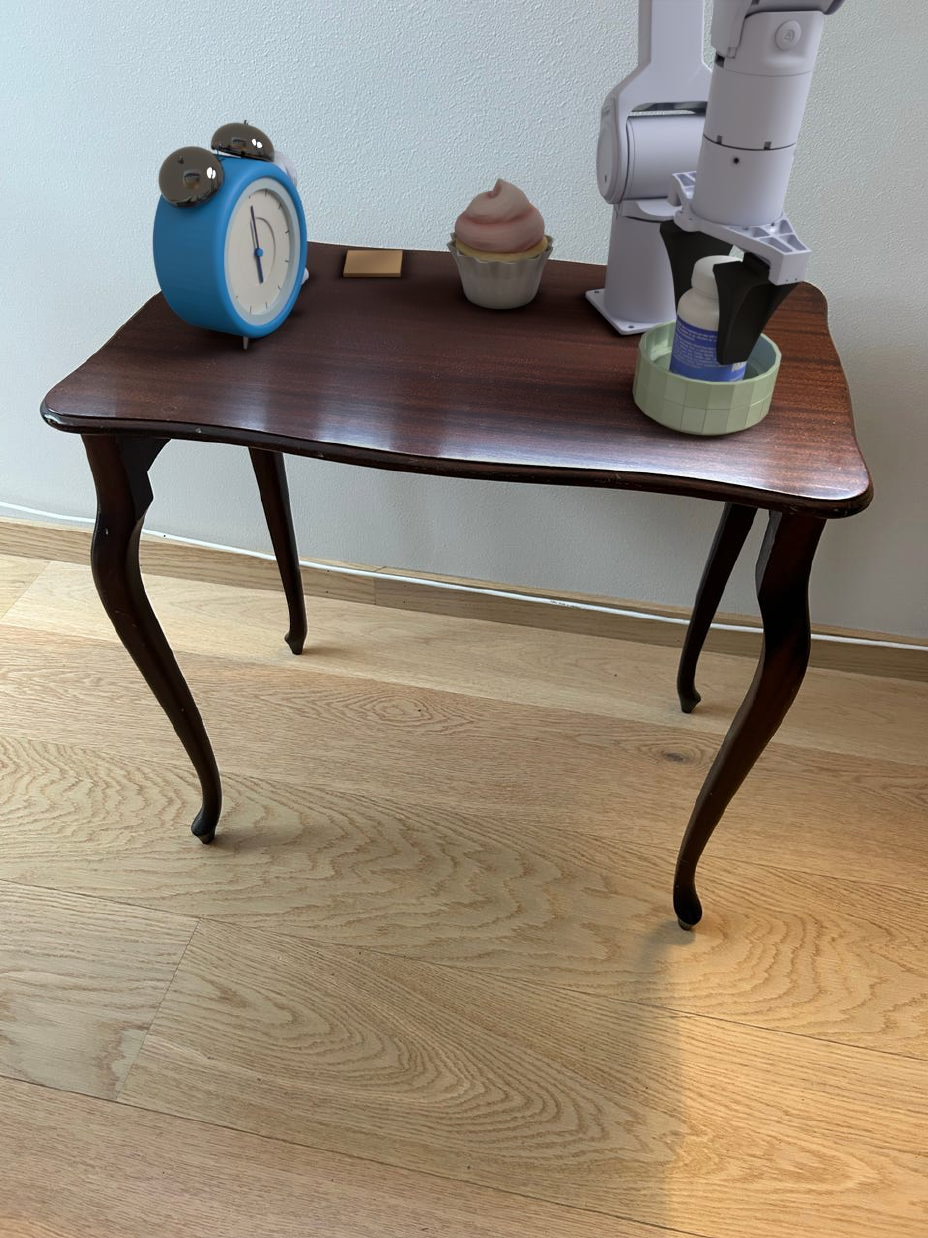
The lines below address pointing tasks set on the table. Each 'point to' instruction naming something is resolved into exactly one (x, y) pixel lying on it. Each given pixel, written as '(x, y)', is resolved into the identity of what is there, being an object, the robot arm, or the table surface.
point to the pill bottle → (701, 329)
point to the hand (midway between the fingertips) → (710, 341)
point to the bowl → (702, 388)
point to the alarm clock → (229, 235)
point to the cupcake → (500, 248)
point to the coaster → (373, 263)
